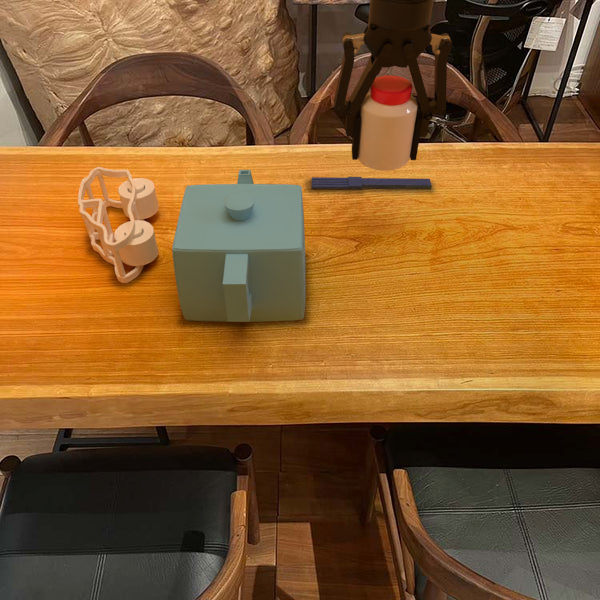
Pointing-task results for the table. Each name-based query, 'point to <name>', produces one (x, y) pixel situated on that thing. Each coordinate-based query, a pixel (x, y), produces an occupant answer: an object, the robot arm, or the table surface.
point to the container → (241, 252)
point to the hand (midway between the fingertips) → (383, 154)
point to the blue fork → (369, 183)
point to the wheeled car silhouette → (129, 236)
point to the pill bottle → (387, 124)
